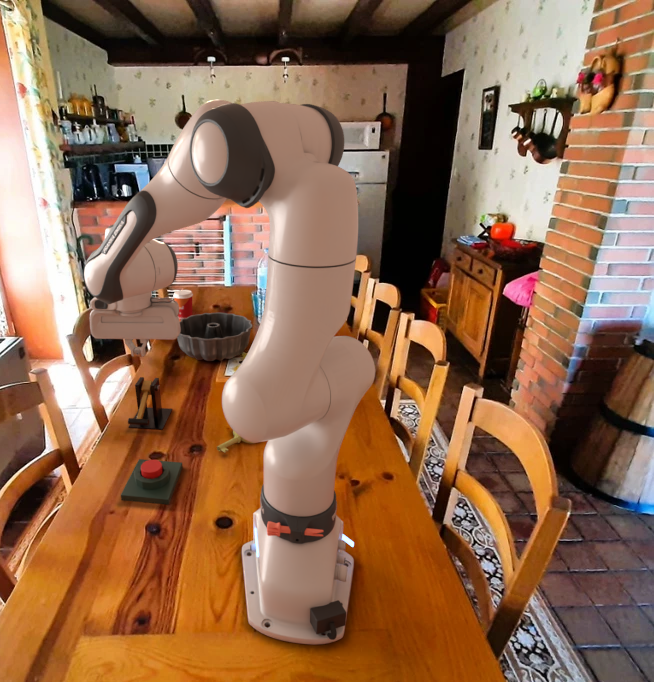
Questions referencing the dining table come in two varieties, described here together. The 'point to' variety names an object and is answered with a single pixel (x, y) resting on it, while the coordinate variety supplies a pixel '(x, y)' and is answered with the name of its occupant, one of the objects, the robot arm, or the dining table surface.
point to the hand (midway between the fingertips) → (138, 355)
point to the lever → (142, 405)
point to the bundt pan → (214, 335)
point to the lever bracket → (155, 414)
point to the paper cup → (184, 303)
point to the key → (231, 442)
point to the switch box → (152, 484)
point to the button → (151, 469)
